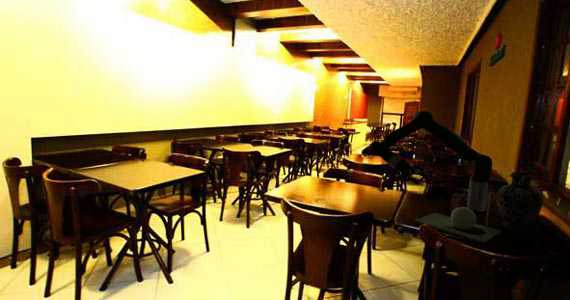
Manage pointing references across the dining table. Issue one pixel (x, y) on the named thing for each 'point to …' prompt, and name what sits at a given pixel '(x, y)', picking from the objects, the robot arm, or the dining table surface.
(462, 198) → the soda can
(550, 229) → the dining table surface
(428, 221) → the putting board
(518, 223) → the decorative vase
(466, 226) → the ball
